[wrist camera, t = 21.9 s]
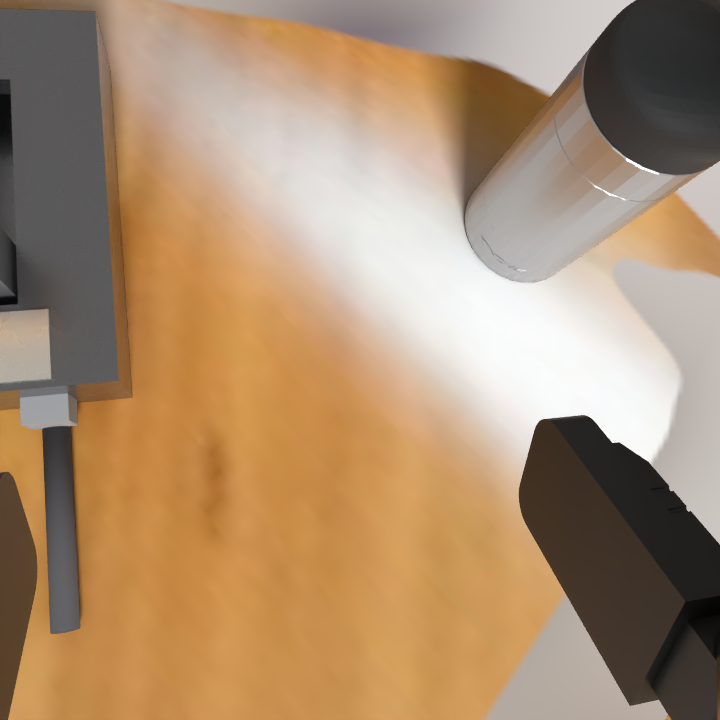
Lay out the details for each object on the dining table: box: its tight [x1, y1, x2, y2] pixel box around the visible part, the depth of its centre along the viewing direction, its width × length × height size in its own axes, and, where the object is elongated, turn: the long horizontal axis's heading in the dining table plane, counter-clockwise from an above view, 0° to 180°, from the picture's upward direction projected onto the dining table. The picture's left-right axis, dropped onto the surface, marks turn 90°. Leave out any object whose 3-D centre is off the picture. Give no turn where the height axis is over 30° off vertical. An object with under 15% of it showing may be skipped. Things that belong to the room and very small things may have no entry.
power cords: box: [20, 393, 80, 634], centre depth 38 cm, size 14×8×4 cm, turn 7°
